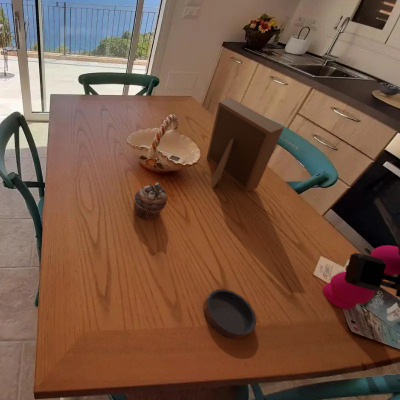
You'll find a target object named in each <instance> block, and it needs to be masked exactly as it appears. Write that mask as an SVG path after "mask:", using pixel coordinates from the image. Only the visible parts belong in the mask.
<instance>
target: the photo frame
mask: <svg viewBox="0 0 400 400" xmlns="http://www.w3.org/2000/svg"><path fill="white" fill-rule="evenodd" d="M284 129H285V127H284V126H282V125H280V124H278V123H277V122H275V121H273V120H271V119H270V118H268V117H266V116H264V115H262V114H261V113H258V112H257V111H255V110H254V109H252V108H250V107H248V106H246V105H245V104H243V103H241V102H239V101H237V100H235V99H233V98H232V97H228V98H225V99H223V100H220V101H218V104H217V109H216V114H215V119H214V122H213V127H212V131H211V136H210V139H209V145H208V150H207V154H206V159H207V160H208V161H209V162H210V163H212V164H213V166H215V167H216V169H215V171H214V173H213V175H212V177H211V179H210V183H211V187H212V189H214V188H215V187H216V185H218V183H219V182H220V180H221V179H222V176H223V173H224V175H226V176H227V177H228V178H229V179H230V180H231V181H233V182H234V183H235V184H236V185H237V186H238V187H240V188H241V189H242V190H244V191H245V192H246V193H248V192H250V191H253V190H255V189H258V186H259V184H260V182H261V180H262V178H263V176H264V173H265V171H266V169H267V167H268V164H269V162H270V160H271V157H272V156H273V153H274V151H275V149H276V146H277V144H278V141H279V139H280V137H281V135H282V133H283V131H284Z"/></svg>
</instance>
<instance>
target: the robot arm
mask: <svg viewBox="0 0 400 400" xmlns="http://www.w3.org/2000/svg"><path fill="white" fill-rule="evenodd" d="M397 247H398V251H399V255H400V242H398V244H397ZM385 267H386V264H385V262H384V261H383V259H379V258H375V257H371V255H367V254H363V253H357V252H354V253H351V254H350V258H349V261H348V264H347V265H346V266H345V272H346V274H345V278H344V280H345V281H346V282H347V283H349V284H352V285H356V286H359V287H363V288H366V289H370V290H373V291H377V290H378V289H380V288H381V286H382V287H385V288H389V289H392V290H395V291H396V292H395V296H396V297H398V298H400V273H399V274H397V275H396V276H395V277H394V276H390V275H386V274H384V270H385ZM399 270H400V269H399ZM382 279H384V280H382Z"/></svg>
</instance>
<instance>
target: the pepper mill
mask: <svg viewBox="0 0 400 400" xmlns="http://www.w3.org/2000/svg"><path fill="white" fill-rule="evenodd" d="M370 256H371V257H375V258H379V259H383V261H384V262H385V264H386V267H385V270H384V274H386V275H390V276H394V277H397V275H398V274H399V273H400V270H399V269H400V255H399V251H398V246H395V245H387V244H385V245H380V246H378V247H376V248H373V250H372V251H371V252H370ZM345 274H346V271H341V272H338V273H336V274H335V275H333V276H332V277H331V278H330V282H328V283H326V284H325V285H323V287H322V293H323V295H324V297H325V298H326V299H327V301H328V302H329V303H331V304H332V305H334V306H335V307H337V308H340V309H342V310H350V309H352V308H354V307H355V306H357V305H362V304H366V303H368V302H369V301H371V299H372V298H373V297H374V295H375V291H376V290H375V291H373V290H370V289H366V288H363V287H359V286H356V285H352V284H349V283H347V282H346V281H345V280H344V278H345ZM382 280H383V281H385V280H384V279H382Z"/></svg>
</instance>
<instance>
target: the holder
mask: <svg viewBox="0 0 400 400" xmlns="http://www.w3.org/2000/svg"><path fill="white" fill-rule="evenodd" d="M202 309H203V314H204V317H205V319H206V321H207V323H208V324H209V326H211V328H212V329H213V330H214V331H215V332H217V333H218V334H220V335H221V336H223V337H226V338H228V339H232V340H241V339H243V338H245V337H247V336H248V335H250V334H251V333H252V332H253V331H255V330H256V326H257V317H256V313H255V311H254V309H253V307H252V305H251V304H250V303H249V302H248V301H247V300H246V299H245V298H244V296H242V295H240V294H239V293H237V292H236V291H232V290H229V289H226V288H220V289H219V288H218V289H215V290H213V291H211V292H209V294H208V295H207V297H206V298H205V300H204V302H203V305H202Z"/></svg>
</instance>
